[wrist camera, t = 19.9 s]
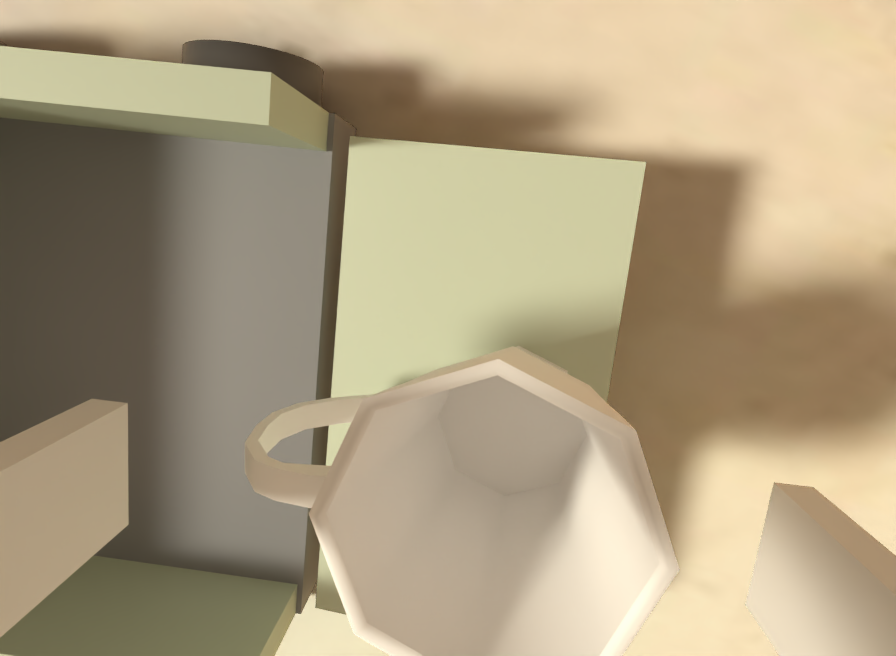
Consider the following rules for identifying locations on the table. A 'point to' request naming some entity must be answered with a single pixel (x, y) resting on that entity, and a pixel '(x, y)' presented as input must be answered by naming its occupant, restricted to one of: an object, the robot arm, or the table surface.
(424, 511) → the cup
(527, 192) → the panel
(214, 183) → the pickup truck
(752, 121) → the table surface
